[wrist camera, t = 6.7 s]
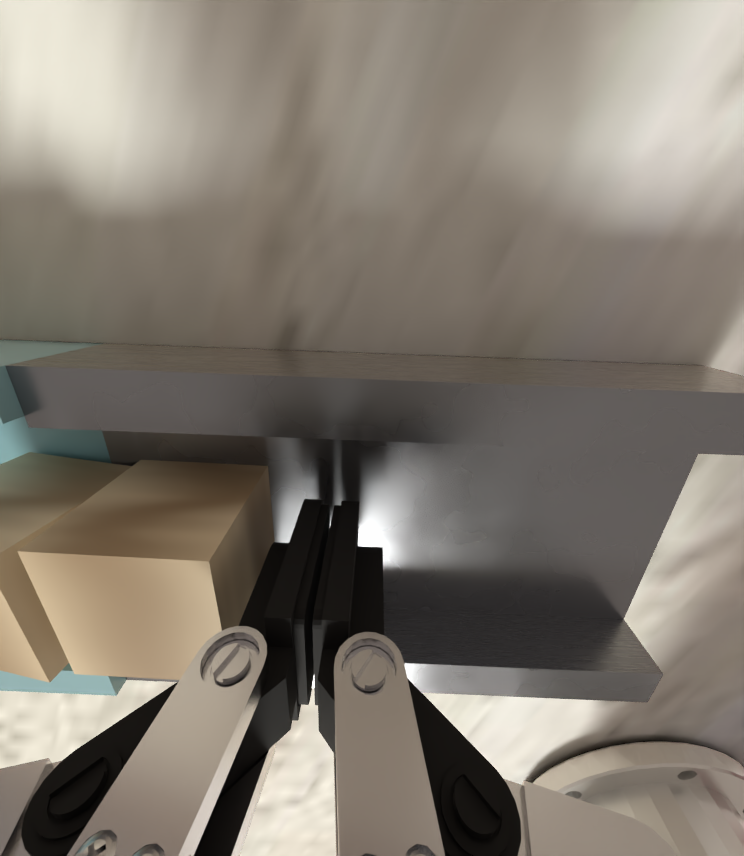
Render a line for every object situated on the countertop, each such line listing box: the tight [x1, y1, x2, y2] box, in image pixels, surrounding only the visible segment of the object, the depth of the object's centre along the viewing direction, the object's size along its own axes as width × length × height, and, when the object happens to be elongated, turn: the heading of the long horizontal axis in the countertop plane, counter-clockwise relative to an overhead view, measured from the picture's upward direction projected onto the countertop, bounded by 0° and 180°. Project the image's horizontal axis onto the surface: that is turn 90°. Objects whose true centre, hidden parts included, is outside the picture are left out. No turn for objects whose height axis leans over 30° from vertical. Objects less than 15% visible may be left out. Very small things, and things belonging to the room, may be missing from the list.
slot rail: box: [5, 344, 744, 702], centre depth 11 cm, size 18×11×3 cm, turn 88°
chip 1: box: [0, 452, 132, 683], centre depth 10 cm, size 4×4×4 cm
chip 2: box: [17, 460, 274, 680], centre depth 10 cm, size 4×4×4 cm
